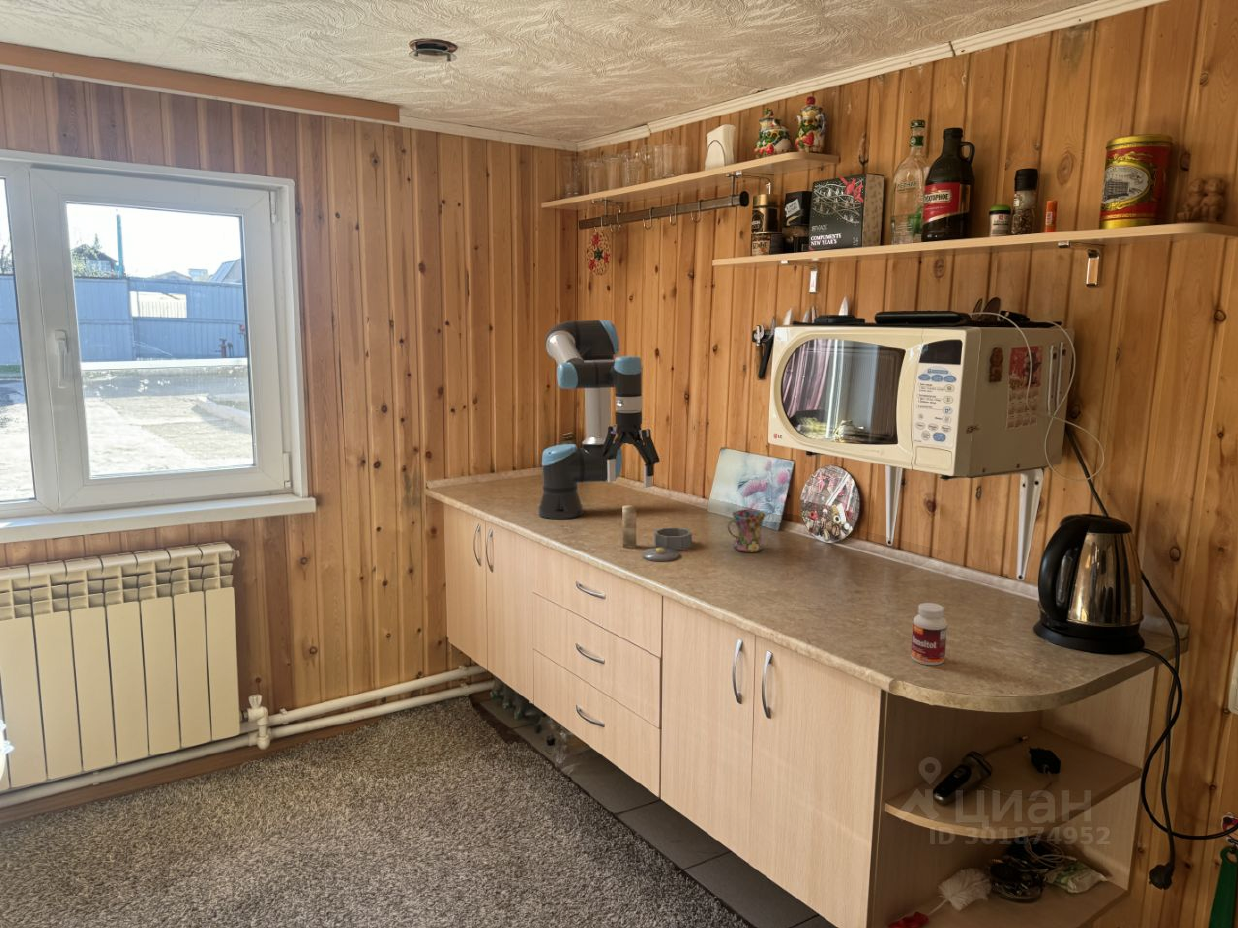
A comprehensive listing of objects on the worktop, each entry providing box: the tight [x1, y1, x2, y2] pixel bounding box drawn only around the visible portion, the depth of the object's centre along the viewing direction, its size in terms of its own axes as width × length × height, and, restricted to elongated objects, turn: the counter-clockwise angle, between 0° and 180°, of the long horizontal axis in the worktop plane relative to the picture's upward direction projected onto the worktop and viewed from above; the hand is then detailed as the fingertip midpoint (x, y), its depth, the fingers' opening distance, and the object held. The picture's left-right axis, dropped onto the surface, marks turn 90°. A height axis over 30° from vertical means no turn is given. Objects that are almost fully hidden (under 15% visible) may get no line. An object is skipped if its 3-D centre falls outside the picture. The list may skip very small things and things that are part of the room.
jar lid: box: [641, 547, 679, 562], centre depth 241 cm, size 10×10×2 cm
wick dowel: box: [621, 504, 637, 550], centre depth 250 cm, size 4×4×12 cm
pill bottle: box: [910, 602, 948, 666], centre depth 168 cm, size 6×6×11 cm
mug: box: [726, 509, 766, 553], centre depth 245 cm, size 12×9×11 cm
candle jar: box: [653, 526, 693, 551], centre depth 251 cm, size 11×11×4 cm
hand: (629, 484), depth 248 cm, fingers open, 13 cm apart
